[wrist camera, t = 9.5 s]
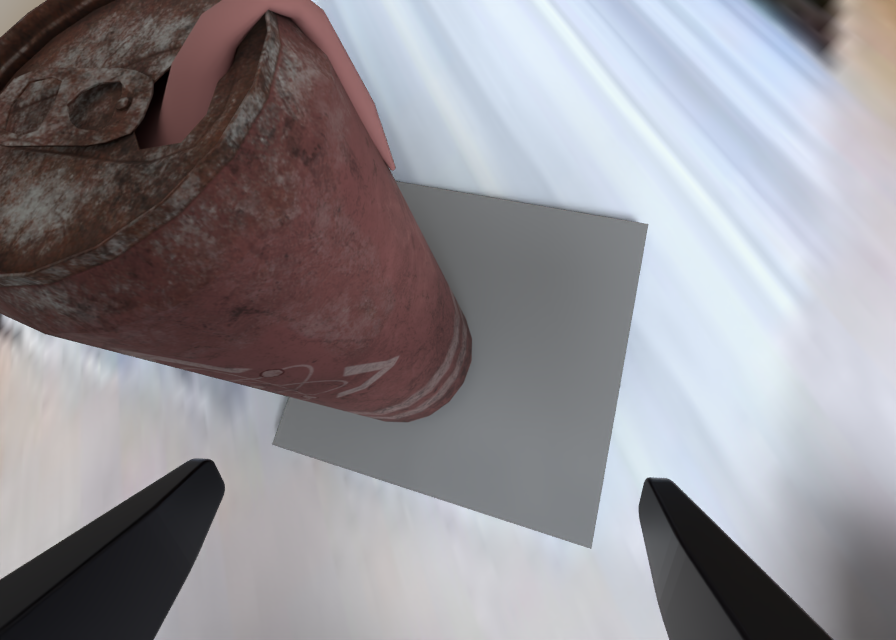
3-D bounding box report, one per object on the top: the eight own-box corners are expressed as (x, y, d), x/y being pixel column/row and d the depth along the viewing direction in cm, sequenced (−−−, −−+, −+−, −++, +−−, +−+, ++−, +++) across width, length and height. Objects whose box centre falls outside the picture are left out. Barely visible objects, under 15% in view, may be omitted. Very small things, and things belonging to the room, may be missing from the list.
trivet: (586, 543, 16) (591, 549, 15) (281, 443, 19) (272, 444, 18) (642, 232, 19) (648, 224, 18) (373, 185, 22) (368, 176, 21)
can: (507, 366, 17) (403, 58, 4) (381, 452, 17) (-142, 422, 4) (433, 264, 19) (218, -140, 6) (323, 338, 19) (-124, 85, 6)
